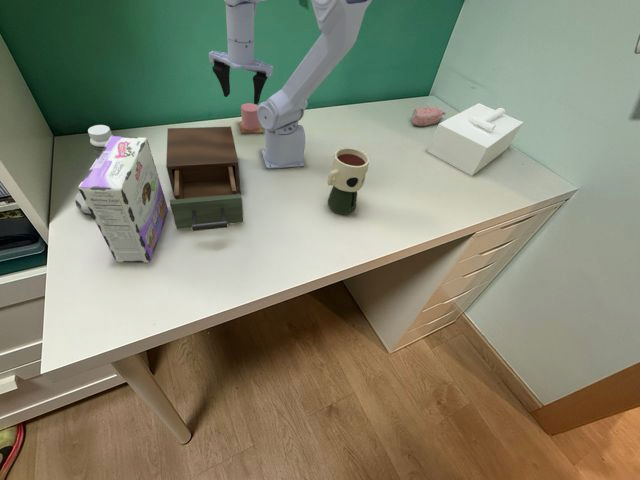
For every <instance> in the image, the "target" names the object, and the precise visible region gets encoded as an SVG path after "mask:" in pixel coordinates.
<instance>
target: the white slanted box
mask: <svg viewBox="0 0 640 480" xmlns="http://www.w3.org/2000/svg"><path fill="white" fill-rule="evenodd" d="M505 113H506V109H505V108H503V107H498V108H496V109H494V108H491V107H489V106H486V105H485V104H482V103H479V102H478V103H476V104H474V105H473V106H471V107H468V108H466V109H465V110H462V111H461V112H459V113H457V114H455V115H452V116H451V117H449V118H447V119H445V120H443V121H441V122H438V123H437V126H436V129H435V131H434V134H433V136H432V139H431V141H430V144H429V146H428V149H427V153H428V154H431V155H432V156H434V157H436V158H438V159H440V160H442V161H444V162H445V163H446V164H449V165H451V166H453V167H454V168H456V169H458V170H460V171H462V172H464V173H466V174H467V175H469V176H471V177H473V176H474V175H475V174H476V173H478V172H479V171H481V170H482V169H483V168H484V167H485V166H488V164H489V163H491V162H492V161H493V160H495V159H496V158H497V157H499V156H500V155H501V154H503V153H504V152H505V151H506V150H507V149H509V147H510V145H511V143H512V142H513V141H514V139H515V138H516V136H517V134H518V132H519V130H520V129H521V127H522V126H523V124H524V121H522V120H519V119H516V118H514V117H513V116H509V115H507V114H505Z"/></svg>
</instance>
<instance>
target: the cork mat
mask: <svg viewBox="0 0 640 480" xmlns="http://www.w3.org/2000/svg"><path fill="white" fill-rule="evenodd" d="M259 125H260V127H259V128H258V129H257V130H246V129H244V128H243V127H242V120H241V121H238V127H239V130H240V131H239V132H240V134H241V135H251V134H252V135H254V134H255V135H258V134H259V135H260V134H264V130H263V126H262V125H261V124H260V122H259Z"/></svg>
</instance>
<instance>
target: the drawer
mask: <svg viewBox="0 0 640 480" xmlns="http://www.w3.org/2000/svg"><path fill="white" fill-rule="evenodd" d="M174 196H175V198H174V199H169V206H170V210H171V213H172V214H171V215H172V217H173V221H174V225H175V227H176V230H183V229H191V231H192V232H199V231H208V230H209V231H210V230H216V229H225V228H226V229H227V228H229V225H230V224H239V223H244V221H245V220H244V209H243V195H242V193H238V194H237V190H236V185H235V179H234V174H233V168H232V166H220V167H203V168H186V169H175V191H174V194H173V197H174Z"/></svg>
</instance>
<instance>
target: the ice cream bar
mask: <svg viewBox="0 0 640 480" xmlns="http://www.w3.org/2000/svg"><path fill="white" fill-rule="evenodd" d="M444 115H446V112H445V111H443V110H442V109H441V108H439V107H438V106H426V107H419V108H418V107H417V108H414V110H413V112H412V116H411V123H412V124H413V126H417V127H425V126H430V125H434V124H435V125H436V124H439V123H440V120H441V119H442V117H443V116H444Z"/></svg>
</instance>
